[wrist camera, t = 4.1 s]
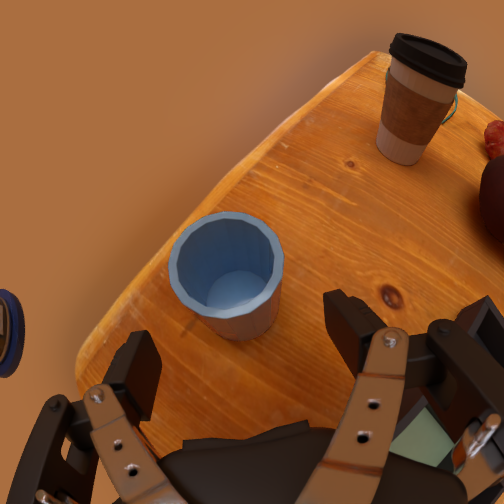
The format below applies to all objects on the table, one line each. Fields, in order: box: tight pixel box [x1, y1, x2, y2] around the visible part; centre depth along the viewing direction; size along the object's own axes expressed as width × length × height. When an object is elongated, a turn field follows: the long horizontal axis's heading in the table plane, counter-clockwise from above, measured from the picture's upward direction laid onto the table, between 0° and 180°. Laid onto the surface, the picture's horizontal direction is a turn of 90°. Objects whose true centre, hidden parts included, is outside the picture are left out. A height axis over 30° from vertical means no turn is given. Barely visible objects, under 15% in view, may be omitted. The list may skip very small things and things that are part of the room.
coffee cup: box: [376, 33, 467, 165], centre depth 21 cm, size 8×8×15 cm
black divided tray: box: [389, 295, 504, 504], centre depth 11 cm, size 18×18×4 cm
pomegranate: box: [484, 120, 504, 159], centre depth 25 cm, size 7×7×10 cm
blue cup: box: [168, 211, 284, 341], centre depth 17 cm, size 6×6×8 cm
